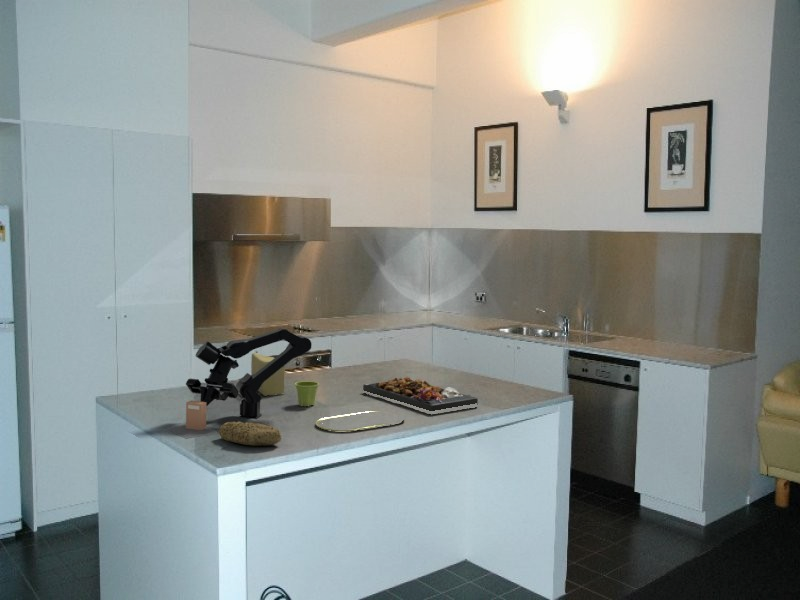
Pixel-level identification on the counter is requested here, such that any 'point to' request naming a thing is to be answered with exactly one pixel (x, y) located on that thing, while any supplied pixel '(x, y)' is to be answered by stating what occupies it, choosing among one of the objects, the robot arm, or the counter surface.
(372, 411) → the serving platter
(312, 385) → the plant pot
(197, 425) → the card box
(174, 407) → the counter surface
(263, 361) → the cheese
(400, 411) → the counter surface
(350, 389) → the counter surface
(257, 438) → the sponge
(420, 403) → the food platter
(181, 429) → the mat
